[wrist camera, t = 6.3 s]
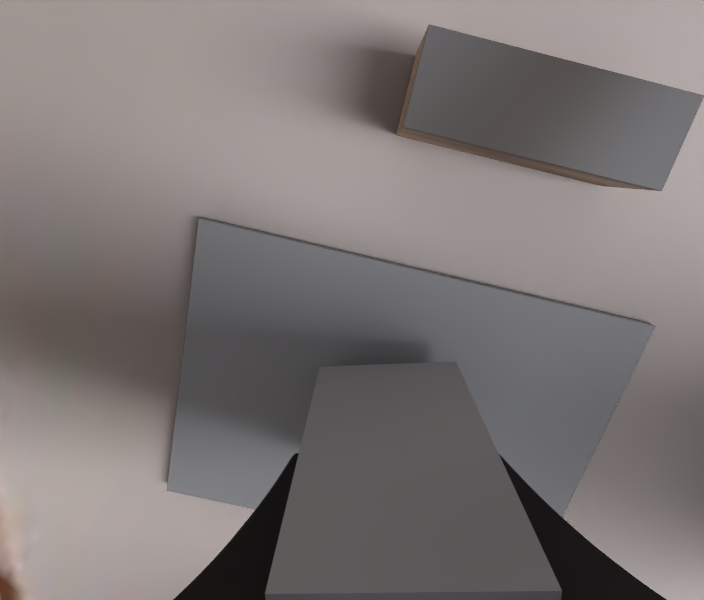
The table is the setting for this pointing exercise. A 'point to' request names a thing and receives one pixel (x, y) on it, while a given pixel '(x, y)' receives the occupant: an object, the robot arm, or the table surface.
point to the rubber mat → (379, 359)
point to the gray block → (403, 496)
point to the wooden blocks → (544, 112)
